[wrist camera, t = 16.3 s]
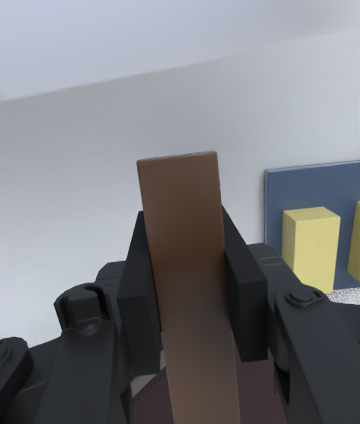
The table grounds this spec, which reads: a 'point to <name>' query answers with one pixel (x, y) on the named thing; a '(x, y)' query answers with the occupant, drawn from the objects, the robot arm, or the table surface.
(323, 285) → the butter block
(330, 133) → the table surface
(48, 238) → the table surface
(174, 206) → the knife
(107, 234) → the table surface
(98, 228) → the table surface
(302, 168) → the butter dish
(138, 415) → the book
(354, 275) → the butter pat
